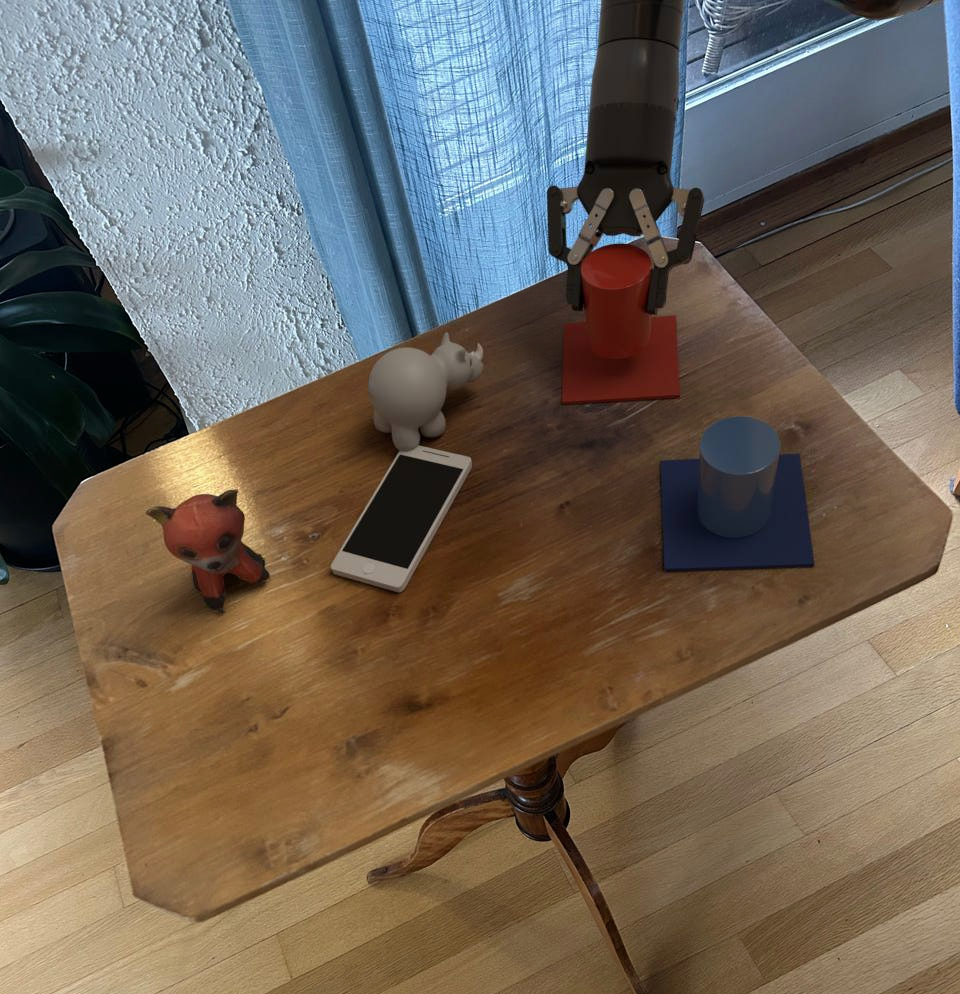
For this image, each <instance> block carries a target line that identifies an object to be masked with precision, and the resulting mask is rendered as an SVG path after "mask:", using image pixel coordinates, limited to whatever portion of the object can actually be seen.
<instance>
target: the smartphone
mask: <svg viewBox="0 0 960 994" xmlns="http://www.w3.org/2000/svg"><path fill="white" fill-rule="evenodd" d="M472 468H473V462H472V458H471V457H470V456H468V455H467V456H466V455H464V454H463V455H462V454H459V453H453V452H450V451H445V450H440V449H436V448H431V447H427V446H423V445H419V444H418V446H417V447H416V448H414V449H412V450H409V451H401V450H398V453H397V454H396V456H395V458H394V459H393V461H392V462H391V464H390V466H389V467H388V469H387V471H386V472H385V474H384V476H383V477H382V479H381V481H380V482H379V484H378V486H377V487H376V489H375V491H374V492H373V494H372V496H371V497H370V499H369V501H368V503H367V504H366V505H365V507H364V509H363V510H362V512H361V514H360V515H359V517H358V519H357V520H356V522H355V523H354V526H353V527H352V529H351V530H350V532H349V534H348V536H347V537H346V539H345V540H344V542H343V544H342V545H341V547H340V549H339V550H338V552H337V553H336V555H335V557H334V559H333V560H332V562H331V564H330V569H331V572H332V574H333V575H335V576H338V577H339V576H340V577H342V578H347V579H350V580H353V581H357V582H360V583H364V584H368V585H371V586H374V587H378V588H382V589H384V590H389V591H392V592H395V593H402V592H403V591H404V590H405V589H406V587H407V586H408V584H409V582H410V581H411V578H412V577H413V575H414V573H415V571H416V569H417V568H418V566H419V564H420V563H421V560H422V558H423V557H424V555H425V553H426V551H427V550H428V548H429V546H430V544H431V542H432V540H433V538H434V537H435V535H436V533H437V532H438V529H439V528H440V526H441V525H442V522H443V520H444V519H445V517H446V515H447V514H448V511H449V510H450V508H451V506H452V504H453V502H454V501H455V499H456V497H457V495H458V494H459V492H460V490H461V488H462V487H463V484H464V483H465V481H466V479H467V478H468V475H469V474H470V472H471V470H472Z"/></svg>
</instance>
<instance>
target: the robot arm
mask: <svg viewBox="0 0 960 994" xmlns="http://www.w3.org/2000/svg"><path fill="white" fill-rule="evenodd" d="M823 1H824V2H826V3H827V4H829V5H832V6H833V7H835V8H838V9H839V10H842V11H844V12H846V13H849V14H851V15H853V16H856V17H859V18H862V19H868V20H873V21H883V20H885V21H886V20H890V19H894V18H898V17H901V16H902V17H903V16H906V15H908V14H911V13H914V12H916V11H919V10H922V9H926V8H928V7H931V6H933V5H935V4H938V3H941V2H943V1H945V0H823ZM684 10H685V0H600V10H599V23H598V35H597V46H596V47H597V49H596V50H597V51H596V56H595V61H594V66H593V71H592V76H591V82H590V83H591V84H590V97H589V110H588V119H587V131H586V132H587V133H586V134H587V135H586V145H585V157H584V171H583V175H582V177H581V179H580V181H579V183H578V185H577V186H569V187H559V186H557V185H550V186H549V187H548V188H547V190H546V213H547V215H546V216H547V218H546V219H547V241H548V242H547V245H548V246H547V249H548V254H549V255H550V256H551V257H552V258H555V260H558V261H561V262H563V263H565V264H566V268H567V272H566V285H565V300H566V303H567V304H569V305H571V310H572V311H574V312H584V303H583V291H582V279H581V265H582V262H583V260H584V259H585V258H586V256H587V255H588V254H590V253H591V252H592V251H594V250H595V248H596V247H597V245H598V244H599V242H600V240H601V239H602V238H603V235H605V236H606V237H607V236H608V237H615V236H619V235H627V236H630V237H641V236H642V235H643V238H644V240H645V242H646V244H647V246H648V249H649V252H650V254H651V257H652V259H653V262H654V263H653V268H652V269H651V276H650V286H649V296H648V307H647V313H648V314H649V315H652V316H657V315H658V312H659V309H664V307H665V305H666V304H667V303H666V302H667V296H668V286H669V285H668V284H669V277H670V276H669V274H670V272H671V271H672V269H674V268H676V267H678V266H681V265H682V266H683V265H688V264H690V263H691V261H692V259H693V254H694V249H695V246H696V241H697V237H698V231H699V228H700V227H699V226H700V223H701V217H702V213H703V208H704V205H705V204H704V203H705V196H704V193H703V191H702V190H701V189H700V188H699V187H693V188H691V189H687V188H680V187H674V185H673V183H672V177H671V173H672V172H671V171H672V164H673V163H672V161H673V152H674V142H675V132H676V131H675V130H676V123H677V122H676V121H677V112H678V109H679V105H680V98H679V91H680V50H681V41H682V31H683V20H684V12H685V11H684ZM578 200H579V202H580V203H581V205H582V207H583V209H584V210H585V212H586V214H587V218H586V219H585V221H584V223H583V225H582V226H581V228H580V230H579V232H578V236H577V238H576V240H575V241H574V244H572V247H568V245H567V241H568V240H567V215H569V214H570V213H571V212H572V211H573V208H574V204H575V202H576V201H578ZM672 202H675V204H676V206H677V207H676V210H677V212H678V214H679V216H681V217H683V218H682V222H681V226H680V232H679V236H678V241H677V245H676V248H674V249H671V250H669V251H668V250H667V248H666V245H665V242H664V238H663V237H662V234H661V232H660V229H659V225H658V224H657V221H658V220H659V219H660V218H661V216H662V215H663V214H664V213H665V211H666V210H667V209H668V207H669V206H670V205H671V203H672Z"/></svg>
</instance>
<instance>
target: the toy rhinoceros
mask: <svg viewBox="0 0 960 994" xmlns="http://www.w3.org/2000/svg"><path fill="white" fill-rule="evenodd" d="M483 358H484V349H483V347H482V346H481V344H480V343H479V342H477V348H476V350H475V351H474V350H472V351H471V352H469V351H467V350H466V349H465V348H464V347H463V346H462V345H460V344H459V343H455V342H452V341H451V339H450V334H449V332H448V331H446V332H444V334H443V336H442V339H441V344H440V346H438V347H437V348H435V350H434V351H433V352H432V354H431V355H430V354H428V353H427V352H426V351H424V350H421V349H419V348H415V347H408V346H407V347H406V346H405V347H399V348H396V349H395V348H394V349H392V350H390V351H388V352H386V353H385V354H383V355H382V356H381V357H380V358H379V359H378V360H377V361H376V362H375V364H374V365H373V367H372V369H371V371H370V373H369V377H368V385H367V386H368V387H367V389H368V392H367V393H368V397H369V400H370V403H371V406H372V407H373V409H374V410H373V424H374V428H375V429H376V430H377V431H379V432H381V433H386V434H389V433H391V438H392V442H393V445H394V446H395V448H396V449H397V450H398V451H400V450H401V451H409V450H412V449H414V448H416V447H417V446H418V445H419V444H420V441H421V435H422V436H423V437H426V438H438V437H439V436H441V435H442V434H443V433H444V432H445V430H446V427H447V423H446V419H445V415H444V413H443V412H442V408H443V406H444V403H445V401H446V397H447V390H458V389H461V388H463V387H465V386H466V384H471V383H475V382H476V381H478V380H479V379H480V378H481V376H482V373H483V370H484V363H483V362H482V360H483Z"/></svg>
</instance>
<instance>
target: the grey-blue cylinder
mask: <svg viewBox="0 0 960 994" xmlns="http://www.w3.org/2000/svg"><path fill="white" fill-rule="evenodd" d="M698 453H699V454H698V459H699V469H698V491H697V515H698V518H699V520H700V522H701V523H702V524H703V526H704V527H705V528H707V529H708V530H709V531H711V532H712V533H714V534H717V535H719V536H723V537H728V538H741V537H746V536H749V535H752V534H754V533H756V532H758V531H759V530H761V529H762V528H763V527H764V526H765V525H766V524H767V522H768V521H769V519H770V516H771V511H772V504H773V497H774V490H775V483H776V476H777V468H778V461H779V455H781V440H780V437H779V435H778V432H777V431H776V430H775V429H774V428H773V427H772V426H771V425H770V424H768V423H767V422H766V421H764V420H761V419H759V418H755V417H752V416H744V415H743V416H742V415H738V416H729V417H725V418H721V419H720V420H717V421H716V422H714V423H712V424H711V425H710V426H708V428H706V429H705V430H704V432H703V433H702V435H701V437H700V441H699V449H698Z"/></svg>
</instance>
